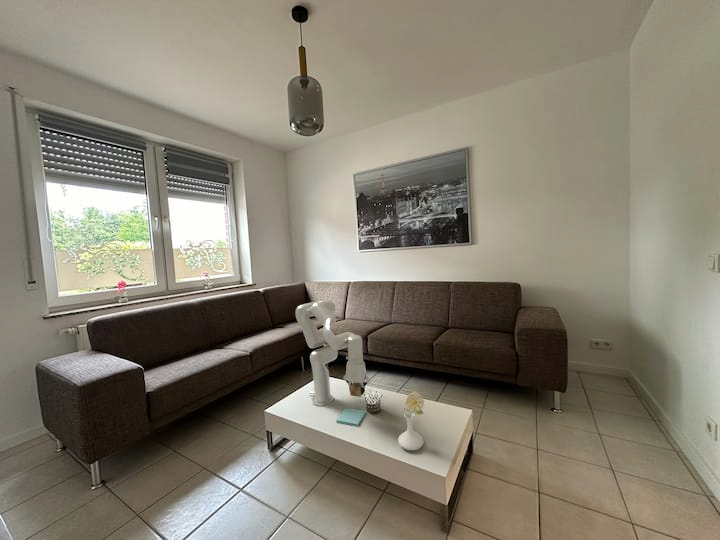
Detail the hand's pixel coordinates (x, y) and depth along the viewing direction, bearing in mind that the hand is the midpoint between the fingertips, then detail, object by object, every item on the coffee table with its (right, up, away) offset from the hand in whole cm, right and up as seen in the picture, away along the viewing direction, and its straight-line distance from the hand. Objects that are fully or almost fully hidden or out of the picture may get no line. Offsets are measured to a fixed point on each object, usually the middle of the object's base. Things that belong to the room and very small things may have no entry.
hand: (357, 392), depth 149 cm
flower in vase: (+25, -15, -21) cm, 36 cm away
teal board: (-3, -15, +3) cm, 15 cm away
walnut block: (0, -1, 0) cm, 1 cm away
